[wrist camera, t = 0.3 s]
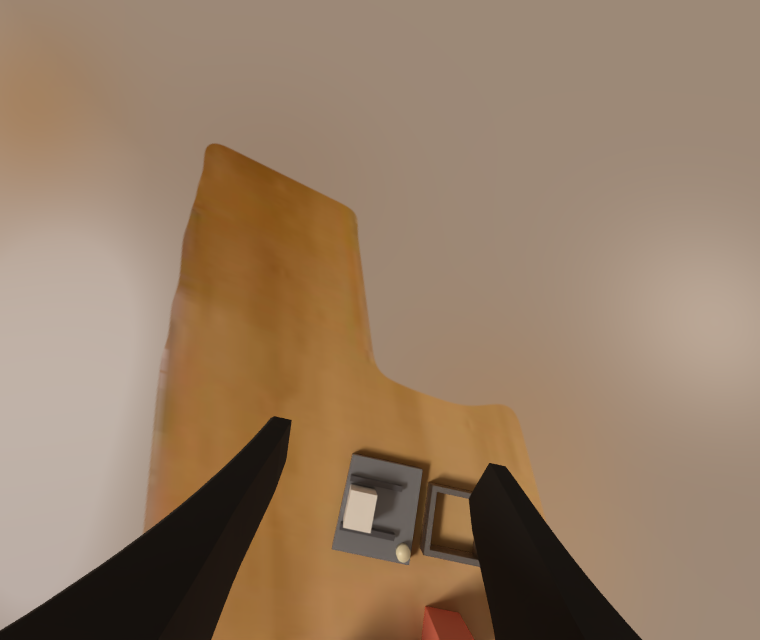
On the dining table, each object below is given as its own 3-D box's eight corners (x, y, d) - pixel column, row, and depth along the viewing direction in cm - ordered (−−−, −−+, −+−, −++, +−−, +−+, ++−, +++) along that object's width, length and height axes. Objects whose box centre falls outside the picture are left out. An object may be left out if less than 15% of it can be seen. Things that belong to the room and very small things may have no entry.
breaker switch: (368, 523, 34) (370, 533, 31) (343, 517, 34) (342, 527, 31) (374, 489, 35) (377, 495, 32) (350, 483, 35) (351, 489, 32)
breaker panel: (406, 559, 35) (410, 568, 32) (332, 543, 34) (331, 552, 32) (419, 467, 38) (424, 470, 36) (352, 453, 38) (353, 455, 35)
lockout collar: (476, 559, 35) (484, 567, 33) (419, 547, 35) (423, 555, 33) (482, 493, 38) (489, 497, 36) (428, 482, 37) (432, 485, 36)
